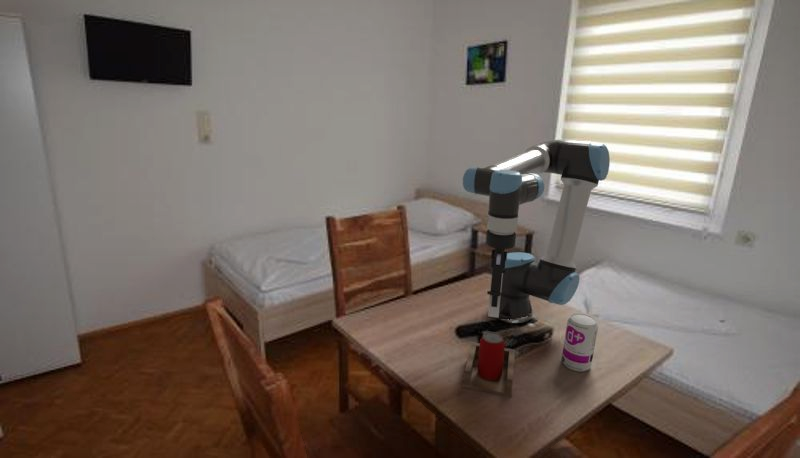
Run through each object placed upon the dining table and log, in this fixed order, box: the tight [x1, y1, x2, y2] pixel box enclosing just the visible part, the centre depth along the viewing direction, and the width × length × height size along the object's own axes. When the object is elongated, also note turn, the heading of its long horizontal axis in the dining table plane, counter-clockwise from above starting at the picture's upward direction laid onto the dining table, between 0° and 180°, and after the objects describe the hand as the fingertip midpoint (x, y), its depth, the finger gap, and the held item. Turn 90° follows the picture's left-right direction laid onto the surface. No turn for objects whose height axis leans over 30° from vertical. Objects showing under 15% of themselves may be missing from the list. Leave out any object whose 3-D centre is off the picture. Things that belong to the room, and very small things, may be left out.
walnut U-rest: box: [462, 342, 516, 398], centre depth 121 cm, size 15×13×5 cm
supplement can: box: [561, 313, 599, 372], centre depth 126 cm, size 8×8×15 cm
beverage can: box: [478, 331, 506, 380], centre depth 119 cm, size 7×7×12 cm
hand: (494, 304), depth 118 cm, fingers open, 13 cm apart
